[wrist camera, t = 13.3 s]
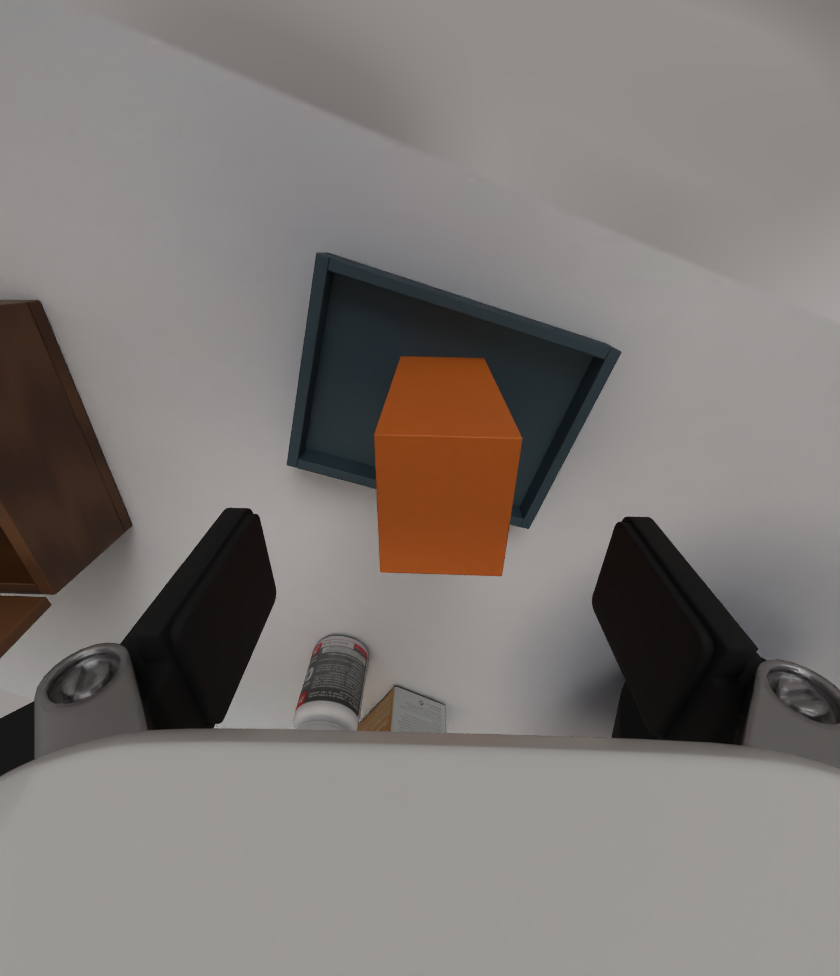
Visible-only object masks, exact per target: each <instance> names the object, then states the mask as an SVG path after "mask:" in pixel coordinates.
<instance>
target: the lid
mask: <svg viewBox="0 0 840 976" xmlns="http://www.w3.org/2000/svg"><path fill="white" fill-rule="evenodd" d="M50 606H51V603H50V602H49V601H48V599H47V598H46V597H28V596H0V658H1V657H2V656H3V655H4V654H5V653H6V652H7V651H8V650H9V649H10V648H11V647H12V646H13V645H14V644H15V643H16V641H17V640H18V639H19V638H20V637H21V636H22V635H23V634H24V633H25V632H26V631H27V630H28V629H29V628H30V627H31V626H32V625H33V624H34V623H35V622H36V621H37V620H38V619H39V618H40V617H41V616H42V614H43V613H44V612H45V611H46V610H47V609H48V608H49V607H50Z"/></svg>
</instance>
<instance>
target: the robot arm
mask: <svg viewBox="0 0 840 976" xmlns="http://www.w3.org/2000/svg"><path fill="white" fill-rule="evenodd" d="M275 598H276V587H275V582H274V578H273V574H272V569H271V565H270V561H269V556H268V552H267V547H266V543H265V539H264V534H263V530H262V526H261V521H260V518H259V516H258V515H257V514H253V512H252V510H251V509H249V508H226V509H225V510H224V511H223V512H222V514H221V515H220V516H219V517H218V519H217V520H216V521H215V523H214V524H213V525H212V526H211V528H210V529H209V530H208V532H207V533H206V534H205V536H204V537H203V538H202V539H201V541H200V542H199V543H198V545H197V546H196V547H195V548H194V550H193V551H192V552H191V554H190V555H189V556H188V557H187V559H186V560H185V561H184V563H183V564H182V565H181V566H180V567H179V569H178V570H177V571H176V573H175V574H174V575H173V576H172V578H171V579H170V580H169V582H168V583H167V584H166V585H165V587H164V588H163V589H162V591H161V592H160V593H159V594H158V596H157V597H156V598H155V600H154V601H153V602H152V604H151V605H150V606H149V607H148V609H147V610H146V611H145V613H144V614H143V615H142V616H141V618H140V619H139V620H138V622H137V623H136V624H135V625H134V627H133V628H132V629H131V631H130V632H129V633H128V634H127V636H126V637H125V638H124V640H123V641H122V642H121V644H116V643H102V644H96V645H92V646H90V647H87V648H84V649H81V650H79V651H77V652H75V653H73V654H71V655H70V656H68V657H66V658H65V659H63V660H62V661H61V662H59V663H58V664H57V665H55V666H54V667H53V668H52V669H51V670H50V671H49V672H48V673H47V674H46V675H45V676H44V677H43V679H42V681H41V682H40V684H39V685H38V687H37V690H36V694H35V698H34V702H32V703H30V704H28V705H26V706H24V707H22V708H20V709H18V710H16V711H14V712H12V713H10V714H8V715H6V716H4V717H3V718H0V976H840V690H839V689H838V688H837V687H836V686H835V685H833V684H832V683H831V682H829V681H828V680H827V679H825V678H824V677H822V676H821V675H819V674H817V673H816V672H814V671H812V670H810V669H808V668H806V667H804V666H801V665H798V664H796V663H793V662H789V661H784V660H779V659H778V660H767V661H765V662H764V661H763V660H762V659H761V658H760V656H759V655H758V654H757V653H756V651H757V650H758V648H757V647H756V645H755V644H754V643H753V642H752V640H751V639H750V638H749V637H748V636H747V634H746V633H745V632H744V631H743V629H742V628H741V627H740V626H739V625H738V623H737V622H736V621H735V620H734V618H733V617H732V616H731V615H730V614H729V612H728V611H727V610H726V609H725V607H724V606H723V605H722V604H721V603H720V601H719V600H718V599H717V598H716V596H715V595H714V594H713V593H712V591H711V590H710V589H709V588H708V587H707V585H706V584H705V583H704V582H703V580H702V579H701V578H700V577H699V576H698V574H697V573H696V572H695V571H694V569H693V568H692V567H691V566H690V565H689V563H688V562H687V561H686V560H685V558H684V557H683V556H682V555H681V554H680V552H679V551H678V550H677V549H676V547H675V546H674V545H673V544H672V543H671V541H670V540H669V539H668V538H667V536H666V535H665V534H664V533H663V531H662V530H661V529H660V528H659V527H658V525H657V524H656V523H655V522H654V520H652V519H651V518H649V517H625V518H624V519H623V520H622V522H618V523H617V524H616V525H615V527H614V531H613V534H612V537H611V540H610V543H609V546H608V549H607V552H606V556H605V559H604V562H603V565H602V568H601V571H600V574H599V577H598V581H597V584H596V587H595V590H594V593H593V597H592V605H593V609H594V612H595V614H596V616H597V619H598V621H599V623H600V625H601V627H602V630H603V632H604V634H605V636H606V638H607V641H608V643H609V645H610V647H611V649H612V652H613V654H614V656H615V658H616V661H617V663H618V665H619V667H620V669H621V672H622V674H623V676H624V678H625V680H626V683H627V685H628V687H629V689H630V692H631V694H632V696H633V698H634V700H635V703H636V705H637V707H638V709H639V711H640V714H641V716H642V718H643V720H644V723H645V725H646V727H647V729H648V731H649V732H650V733H651V734H652V735H657V738H658V740H649V739H626V738H595V737H564V736H533V735H499V734H463V733H426V732H387V731H342V730H296V729H213V728H214V725H215V724H219V723H221V722H222V721H223V719H224V717H225V715H226V713H227V711H228V709H229V706H230V704H231V702H232V699H233V697H234V695H235V692H236V690H237V688H238V685H239V683H240V681H241V679H242V676H243V674H244V672H245V669H246V667H247V665H248V662H249V660H250V658H251V655H252V653H253V651H254V648H255V646H256V644H257V642H258V639H259V637H260V635H261V632H262V630H263V628H264V625H265V623H266V621H267V618H268V616H269V614H270V612H271V609H272V607H273V605H274V602H275Z"/></svg>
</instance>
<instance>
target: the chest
mask: <svg viewBox="0 0 840 976" xmlns="http://www.w3.org/2000/svg"><path fill="white" fill-rule="evenodd" d="M131 526H132V524H131V521H130V519H129V517H128V514H127V512H126V509H125V507H124V504H123V502H122V500H121V497H120V495H119V492H118V490H117V487H116V485H115V483H114V480H113V478H112V475H111V473H110V470H109V468H108V466H107V463H106V461H105V458H104V456H103V453H102V451H101V449H100V446H99V444H98V441H97V439H96V436H95V434H94V432H93V429H92V427H91V424H90V422H89V419H88V417H87V415H86V412H85V410H84V407H83V405H82V402H81V400H80V398H79V395H78V393H77V390H76V388H75V386H74V383H73V381H72V378H71V376H70V373H69V371H68V369H67V366H66V364H65V361H64V359H63V356H62V354H61V352H60V349H59V347H58V344H57V342H56V339H55V337H54V335H53V332H52V330H51V327H50V325H49V322H48V320H47V318H46V315H45V313H44V310H43V308H42V305H41V303H40V301H38V300H0V593H15V594H49V595H55V594H57V593H58V592H59V591H60V590H61V589H62V588H63V587H64V586H65V585H67V584H68V583H69V582H70V581H71V580H72V579H73V578H74V577H76V576H77V575H78V574H79V573H80V572H81V571H82V570H83V569H84V568H86V567H87V566H88V565H89V564H90V563H91V562H92V561H93V560H95V559H96V558H97V557H98V556H99V555H100V554H101V553H102V552H103V551H105V550H106V549H107V548H108V547H109V546H110V545H111V544H112V543H114V542H115V541H116V540H117V539H118V538H119V537H120V536H121V535H122V534H124V532H126V531H127V530H128V529H129V528H130V527H131Z"/></svg>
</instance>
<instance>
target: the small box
mask: <svg viewBox="0 0 840 976" xmlns="http://www.w3.org/2000/svg"><path fill="white" fill-rule="evenodd" d="M357 731H387V732H426V733H446V709H445V705H443V704H440V703H437V702H435V701H432V700H430V699H427V698H424V697H422V696H419V695H417V694H414V693H412V692H409V691H406V690H404V689H401V688H399V687H394V688H393V689H392V690H391V691H390V693H389V694H388V695H387V696H386V697H385V698H384V699H383V700H382V701H381V702H380V704H379V705H378V706H377V707H376V708H375V709H374V710H373V711H372V712H371V713H370V714H369V715H368V716H367V717H366V718H365V719H364V720H363V721H361V722H360V723H359V725H358V728H357Z"/></svg>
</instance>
